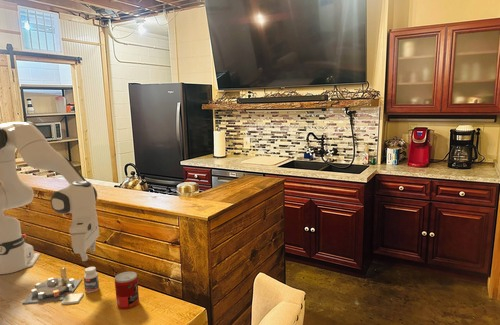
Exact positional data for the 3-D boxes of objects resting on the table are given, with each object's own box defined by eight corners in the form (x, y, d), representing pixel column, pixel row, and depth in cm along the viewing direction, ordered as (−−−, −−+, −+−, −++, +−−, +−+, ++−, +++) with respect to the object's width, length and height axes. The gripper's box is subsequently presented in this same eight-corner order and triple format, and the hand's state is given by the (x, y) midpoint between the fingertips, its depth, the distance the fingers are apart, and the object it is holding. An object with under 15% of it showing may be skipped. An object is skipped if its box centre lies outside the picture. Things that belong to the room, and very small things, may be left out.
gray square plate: (41, 283, 148) (41, 282, 148) (83, 280, 150) (82, 278, 150) (22, 304, 132) (22, 302, 132) (68, 300, 134) (68, 298, 134)
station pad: (67, 296, 137) (67, 294, 137) (83, 294, 138) (83, 293, 137) (61, 304, 131) (61, 302, 131) (78, 303, 132) (78, 301, 132)
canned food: (132, 310, 126) (130, 281, 124) (112, 308, 127) (109, 280, 126) (143, 299, 133) (141, 271, 131) (124, 297, 135) (121, 270, 133)
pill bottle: (83, 293, 139) (81, 272, 137) (86, 287, 144) (84, 267, 142) (98, 291, 140) (96, 270, 139) (100, 285, 145) (98, 265, 144)
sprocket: (29, 288, 142) (27, 267, 141) (70, 277, 151) (67, 257, 150) (34, 303, 130) (31, 280, 129) (77, 290, 139) (75, 268, 138)
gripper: (85, 215, 147) (89, 246, 149) (67, 231, 127) (71, 267, 129) (101, 214, 148) (104, 245, 150) (85, 229, 128) (89, 265, 130)
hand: (88, 255), depth 140 cm, fingers open, 8 cm apart
